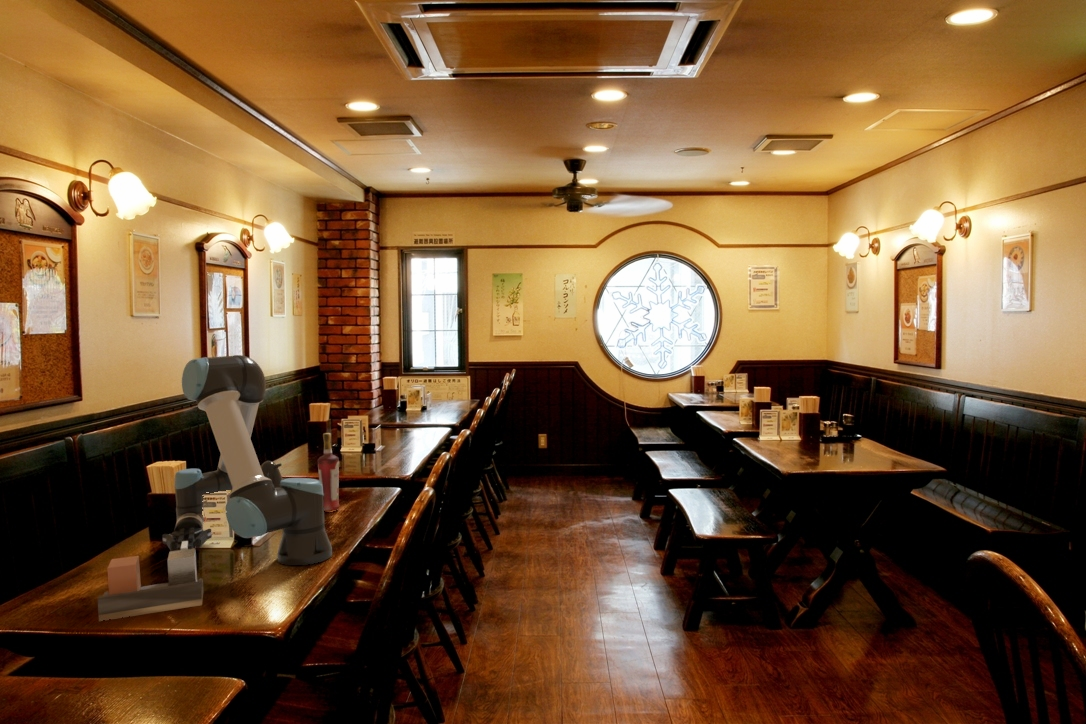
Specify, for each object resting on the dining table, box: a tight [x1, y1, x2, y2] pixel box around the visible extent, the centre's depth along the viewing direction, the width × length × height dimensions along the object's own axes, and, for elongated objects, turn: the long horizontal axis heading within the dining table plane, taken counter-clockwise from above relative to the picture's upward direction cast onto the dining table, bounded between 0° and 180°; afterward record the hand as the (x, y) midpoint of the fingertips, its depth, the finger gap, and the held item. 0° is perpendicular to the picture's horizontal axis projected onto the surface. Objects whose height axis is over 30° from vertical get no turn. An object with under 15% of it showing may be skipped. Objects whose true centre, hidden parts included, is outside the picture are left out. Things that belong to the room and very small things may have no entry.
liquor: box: [317, 432, 341, 511], centre depth 263 cm, size 7×7×28 cm
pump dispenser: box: [260, 460, 283, 488], centre depth 280 cm, size 10×10×15 cm
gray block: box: [167, 547, 198, 586], centre depth 188 cm, size 7×6×9 cm
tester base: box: [97, 577, 204, 622], centre depth 182 cm, size 10×22×6 cm, turn 113°
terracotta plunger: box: [106, 555, 142, 595], centre depth 183 cm, size 7×6×9 cm
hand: (183, 553), depth 197 cm, fingers closed
